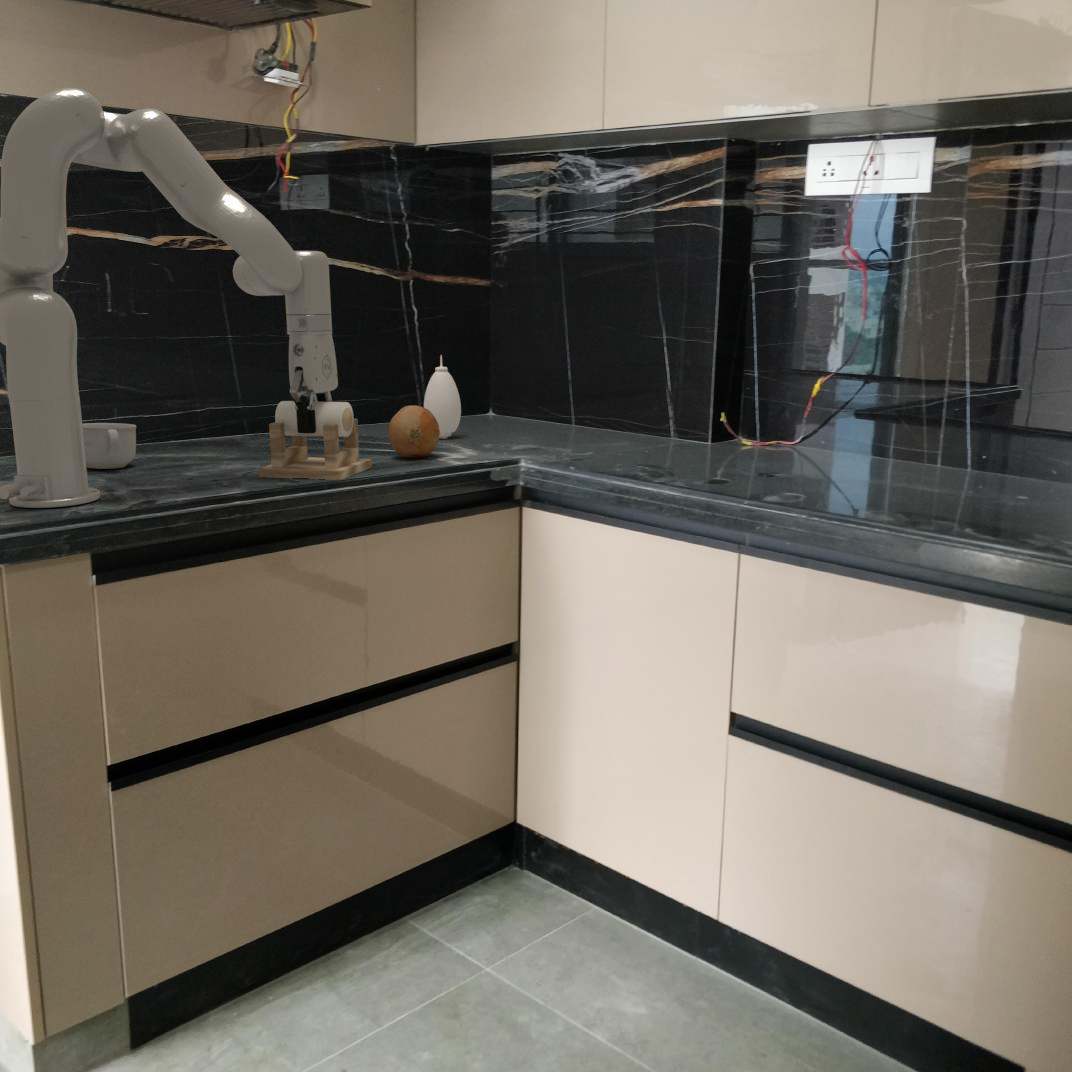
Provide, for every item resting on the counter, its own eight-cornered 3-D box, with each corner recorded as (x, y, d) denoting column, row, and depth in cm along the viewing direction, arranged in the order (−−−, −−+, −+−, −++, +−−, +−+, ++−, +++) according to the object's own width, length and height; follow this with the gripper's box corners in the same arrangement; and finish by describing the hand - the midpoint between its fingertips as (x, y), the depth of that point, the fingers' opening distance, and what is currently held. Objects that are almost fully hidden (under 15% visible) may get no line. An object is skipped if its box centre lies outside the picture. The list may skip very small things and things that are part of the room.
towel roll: (341, 439, 182) (339, 404, 181) (275, 437, 185) (273, 402, 184) (355, 434, 188) (353, 400, 186) (290, 433, 191) (288, 399, 189)
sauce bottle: (417, 438, 232) (415, 354, 228) (443, 435, 238) (441, 353, 234) (442, 441, 227) (440, 356, 223) (468, 437, 233) (466, 354, 229)
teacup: (76, 465, 197) (72, 421, 195) (138, 461, 201) (135, 419, 199) (74, 476, 185) (70, 430, 183) (141, 472, 188) (137, 427, 187)
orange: (396, 463, 198) (394, 409, 196) (383, 456, 207) (381, 404, 205) (446, 460, 201) (445, 407, 199) (431, 453, 210) (430, 402, 208)
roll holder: (339, 480, 179) (337, 426, 177) (258, 477, 183) (255, 424, 181) (371, 467, 192) (369, 417, 191) (295, 464, 196) (292, 415, 194)
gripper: (307, 327, 173) (313, 437, 177) (350, 323, 189) (354, 425, 193) (265, 327, 175) (272, 436, 179) (311, 324, 191) (316, 424, 195)
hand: (315, 429), depth 186 cm, fingers closed on towel roll, 6 cm apart
